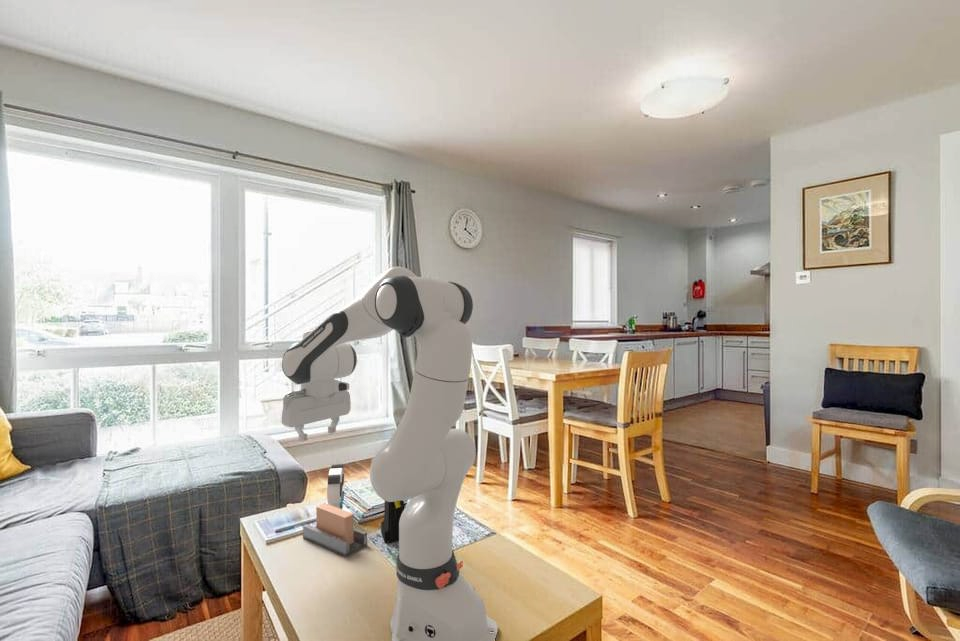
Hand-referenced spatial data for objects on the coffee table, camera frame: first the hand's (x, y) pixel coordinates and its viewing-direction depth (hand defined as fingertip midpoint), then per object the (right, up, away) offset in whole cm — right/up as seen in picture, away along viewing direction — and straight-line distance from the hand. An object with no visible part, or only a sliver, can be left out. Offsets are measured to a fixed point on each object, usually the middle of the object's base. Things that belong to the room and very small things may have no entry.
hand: (317, 436), depth 124 cm
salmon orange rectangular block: (+4, -29, +1) cm, 29 cm away
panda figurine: (0, -30, +16) cm, 33 cm away
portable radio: (+20, -30, +4) cm, 36 cm away
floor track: (+4, -30, +1) cm, 30 cm away
